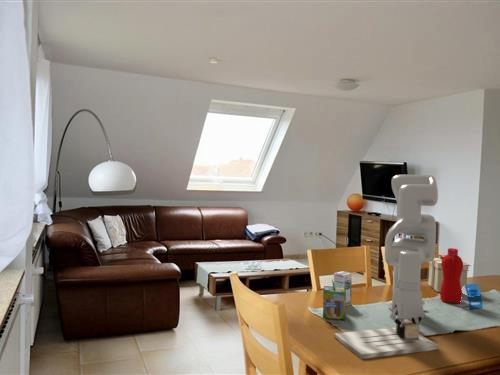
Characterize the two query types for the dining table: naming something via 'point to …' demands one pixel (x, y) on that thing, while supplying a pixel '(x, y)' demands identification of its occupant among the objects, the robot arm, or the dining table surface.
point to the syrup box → (344, 283)
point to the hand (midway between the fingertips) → (406, 335)
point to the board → (382, 343)
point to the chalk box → (334, 302)
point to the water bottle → (451, 277)
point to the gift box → (437, 274)
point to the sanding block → (410, 331)
